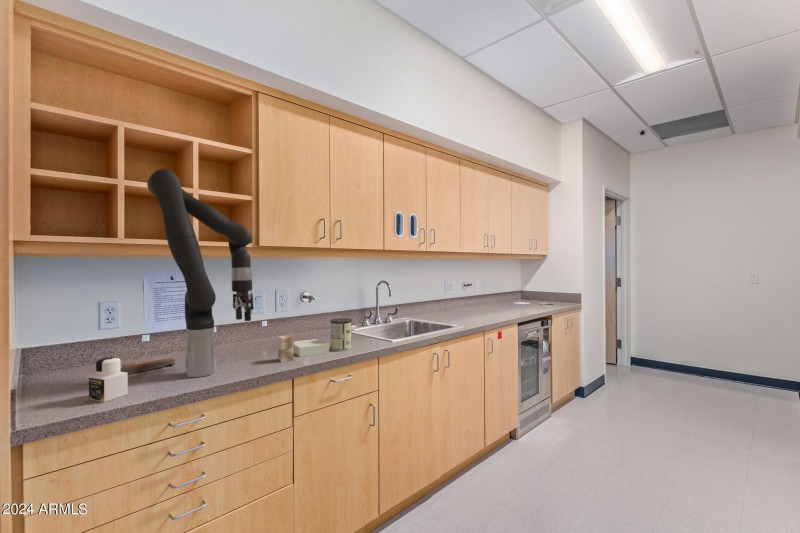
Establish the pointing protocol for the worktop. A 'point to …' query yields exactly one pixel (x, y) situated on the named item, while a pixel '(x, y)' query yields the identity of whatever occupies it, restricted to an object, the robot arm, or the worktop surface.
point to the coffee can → (340, 334)
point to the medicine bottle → (108, 381)
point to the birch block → (285, 348)
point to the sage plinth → (310, 347)
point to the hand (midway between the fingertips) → (243, 320)
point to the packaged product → (149, 367)
